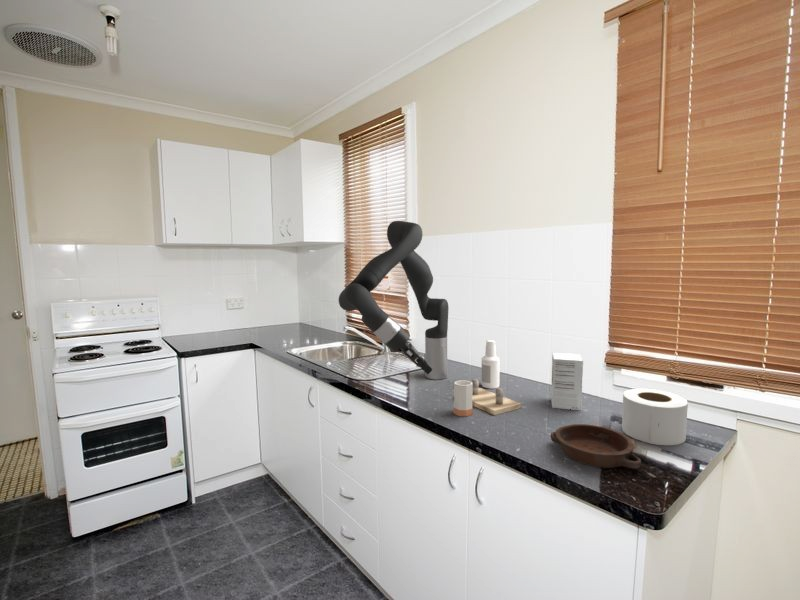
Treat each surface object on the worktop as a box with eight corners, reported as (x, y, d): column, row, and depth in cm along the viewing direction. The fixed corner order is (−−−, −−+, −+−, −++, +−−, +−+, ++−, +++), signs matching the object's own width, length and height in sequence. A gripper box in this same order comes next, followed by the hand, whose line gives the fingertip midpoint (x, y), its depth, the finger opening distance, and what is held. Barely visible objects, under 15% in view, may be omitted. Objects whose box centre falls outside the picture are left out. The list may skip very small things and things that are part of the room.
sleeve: (450, 411, 136) (450, 382, 135) (464, 408, 139) (464, 379, 138) (462, 417, 131) (462, 386, 130) (476, 413, 134) (476, 383, 133)
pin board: (454, 397, 149) (454, 380, 149) (480, 391, 155) (480, 374, 155) (494, 415, 132) (494, 395, 132) (521, 407, 138) (521, 389, 138)
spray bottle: (484, 382, 167) (485, 338, 165) (501, 385, 163) (502, 340, 161) (478, 387, 161) (479, 341, 159) (496, 389, 157) (496, 343, 156)
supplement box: (550, 398, 147) (551, 352, 145) (578, 401, 144) (580, 353, 142) (551, 408, 138) (553, 358, 136) (581, 411, 135) (583, 360, 133)
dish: (565, 432, 119) (565, 416, 119) (652, 458, 103) (653, 439, 103) (535, 453, 107) (536, 434, 106) (629, 486, 91) (630, 464, 91)
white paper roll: (671, 451, 107) (673, 410, 106) (611, 431, 119) (613, 395, 118) (694, 435, 116) (697, 398, 115) (636, 418, 128) (638, 384, 127)
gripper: (402, 328, 122) (440, 365, 125) (396, 321, 136) (431, 354, 139) (384, 347, 122) (423, 383, 124) (380, 338, 136) (415, 370, 138)
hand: (427, 368), depth 132 cm, fingers open, 8 cm apart
